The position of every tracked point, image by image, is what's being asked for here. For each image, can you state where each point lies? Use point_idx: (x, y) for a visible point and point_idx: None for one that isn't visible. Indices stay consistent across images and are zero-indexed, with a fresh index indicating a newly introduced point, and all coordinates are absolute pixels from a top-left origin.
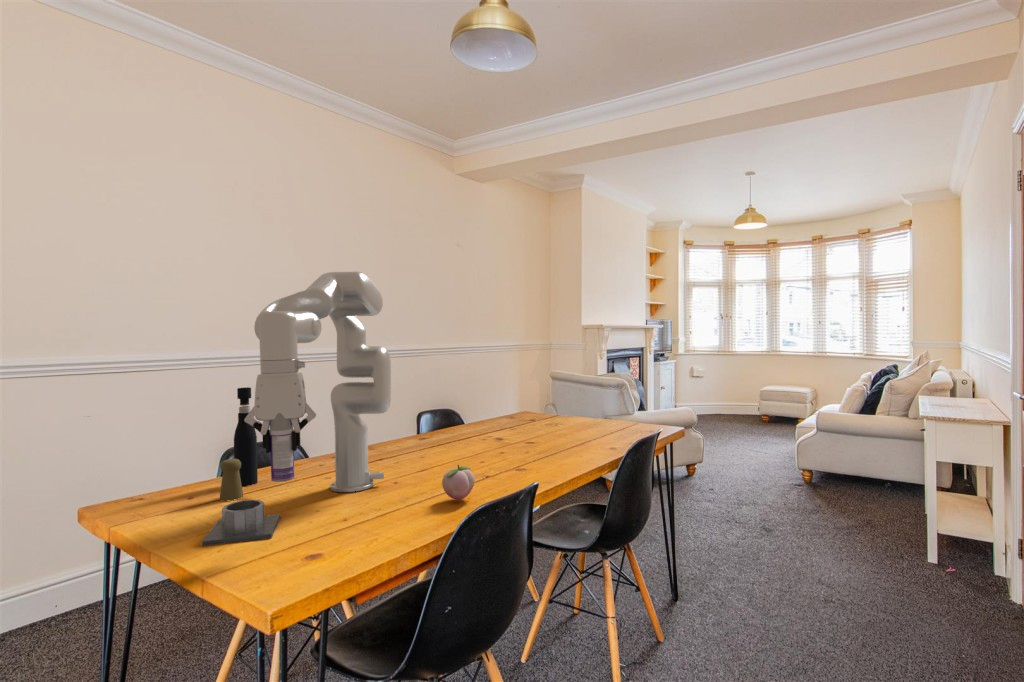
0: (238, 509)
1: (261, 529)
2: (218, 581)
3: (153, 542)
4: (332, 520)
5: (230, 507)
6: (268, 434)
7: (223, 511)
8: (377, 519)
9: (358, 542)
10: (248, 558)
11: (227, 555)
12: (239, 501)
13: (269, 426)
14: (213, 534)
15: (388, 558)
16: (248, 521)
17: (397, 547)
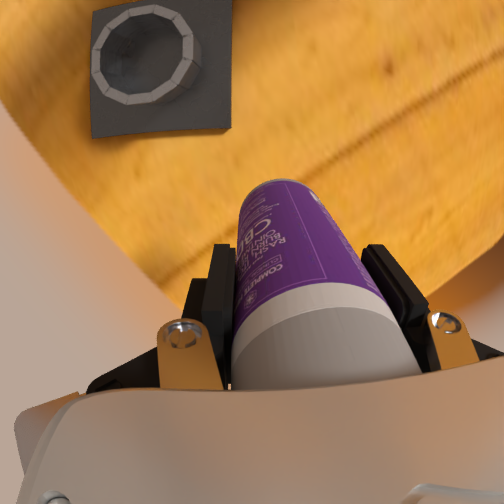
0: (128, 27)
1: (201, 90)
2: (182, 305)
3: (16, 103)
4: (362, 58)
5: (107, 43)
6: (227, 379)
7: (98, 84)
8: (447, 103)
9: (402, 217)
10: (205, 229)
11: (160, 202)
12: (122, 15)
13: (214, 358)
14: (102, 100)
15: (423, 295)
16: (168, 97)
17: (445, 260)
